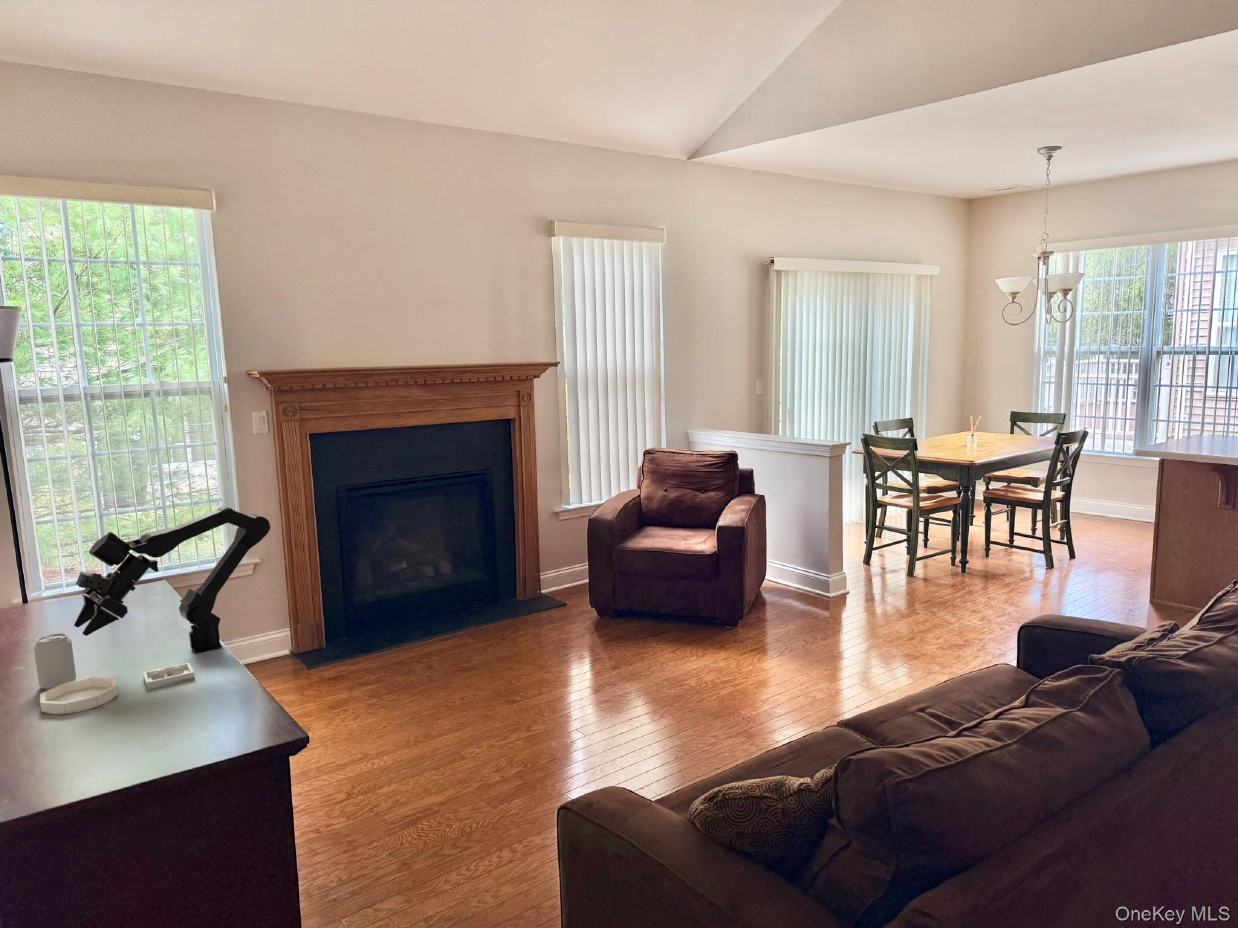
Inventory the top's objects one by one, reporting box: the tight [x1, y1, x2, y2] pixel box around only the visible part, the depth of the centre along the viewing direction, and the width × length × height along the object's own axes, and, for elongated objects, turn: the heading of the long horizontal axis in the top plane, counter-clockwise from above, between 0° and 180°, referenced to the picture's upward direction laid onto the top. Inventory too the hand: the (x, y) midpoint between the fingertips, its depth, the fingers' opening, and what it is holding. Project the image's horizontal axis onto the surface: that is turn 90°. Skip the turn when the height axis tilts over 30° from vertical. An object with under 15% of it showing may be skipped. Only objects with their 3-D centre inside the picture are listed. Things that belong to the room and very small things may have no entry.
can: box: [33, 632, 77, 691], centre depth 199 cm, size 8×8×12 cm
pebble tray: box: [142, 662, 196, 691], centre depth 201 cm, size 10×8×2 cm
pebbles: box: [152, 665, 184, 680], centre depth 200 cm, size 7×5×2 cm
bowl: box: [39, 676, 119, 716], centre depth 190 cm, size 15×15×3 cm
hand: (79, 630), depth 202 cm, fingers open, 9 cm apart
